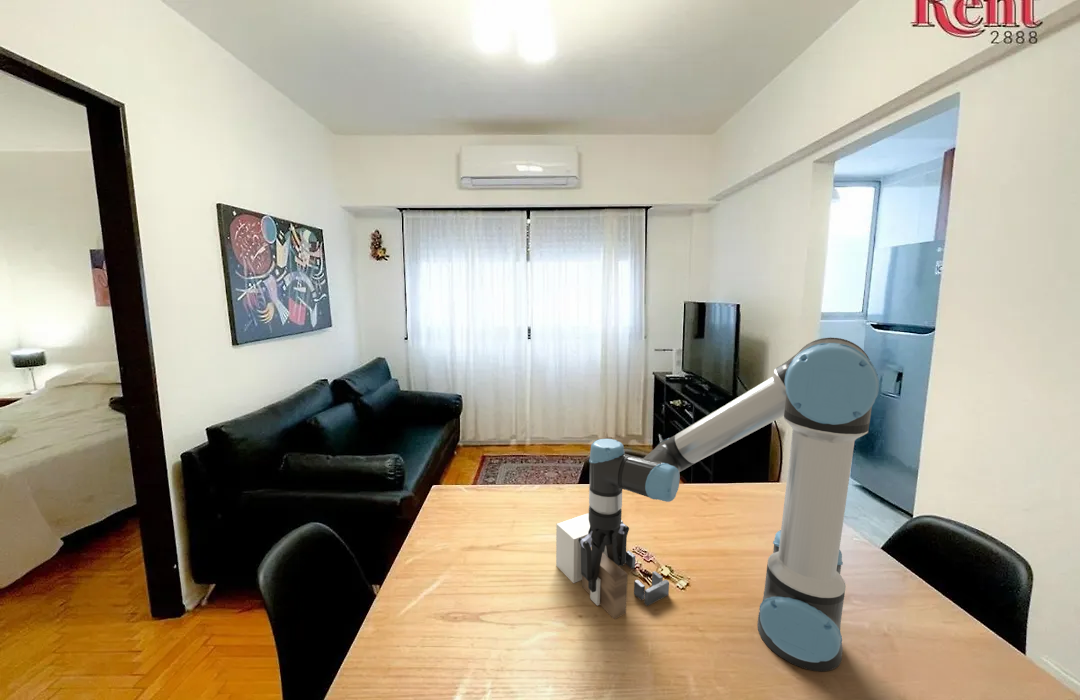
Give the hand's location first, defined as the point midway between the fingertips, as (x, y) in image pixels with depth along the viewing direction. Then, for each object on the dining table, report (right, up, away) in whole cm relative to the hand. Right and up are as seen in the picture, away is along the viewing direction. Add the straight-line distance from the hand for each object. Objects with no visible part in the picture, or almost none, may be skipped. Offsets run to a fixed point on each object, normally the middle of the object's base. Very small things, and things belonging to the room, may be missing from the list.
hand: (602, 597), depth 99 cm
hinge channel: (+9, +1, +6) cm, 11 cm away
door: (0, 0, 0) cm, 0 cm away
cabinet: (-2, +2, +13) cm, 13 cm away
